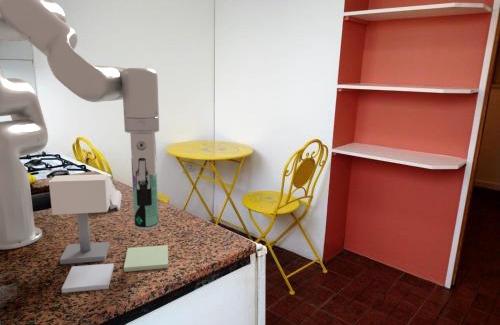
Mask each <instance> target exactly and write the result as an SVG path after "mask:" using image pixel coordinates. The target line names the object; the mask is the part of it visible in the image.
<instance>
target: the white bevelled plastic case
mask: <svg viewBox="0 0 500 325" xmlns="http://www.w3.org/2000/svg"><path fill="white" fill-rule="evenodd" d="M108 180H109V196H110V206H109V209H108V210H113V209H115V208H116V210H117V211H118V212H119V211H120V210H121V202H122V196H123V195H122V193H121V190H118V189H117V188H116V187H115V185H114V183H113V181H112V179H111V177H110V176H108Z"/></svg>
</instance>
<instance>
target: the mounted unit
mask: <svg viewBox="0 0 500 325" xmlns="http://www.w3.org/2000/svg"><path fill="white" fill-rule="evenodd" d="M108 177H109V173H106V174H105V173H104V174H101V173H100V174H74V175H73V174H70V175H69V174H67V175H54V176H53V177H52V178H51V179H50V180H49V181H48V184H49V195H50V205H51V215H52V216H53V215H54V216H56V215H71V214H72V215H75V214H76V215H77V224H78V226H77V227H78V228H77V229H78V238H79V243H72V244H71V243H69V244H67V246H66V247H65V249H64V251H63V253H62V255H61V257H60V258H59V265H67V264H68V265H70V264H81V263H82V264H83V263H95V262H105V261H106V258H107V256H108V252H109V249H110V241H104V242H103V241H100V242H91V233H90V221H89V220H90V219H89V214H93V213H107V212H108V211H109V210H110V209H109V206H110V196H109V180H108Z"/></svg>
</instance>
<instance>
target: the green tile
mask: <svg viewBox="0 0 500 325" xmlns="http://www.w3.org/2000/svg"><path fill="white" fill-rule="evenodd" d="M125 255H126V256H125V260H124V264H123V272H124V273H126V272H135V271H136V272H137V271H138V272H139V271H147V270H148V271H149V270H150V271H151V270H157V269H158V270H160V269H168V268H169V245H168V244H165V245H152V246H138V247H127V250H126V254H125Z"/></svg>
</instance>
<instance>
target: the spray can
mask: <svg viewBox="0 0 500 325" xmlns="http://www.w3.org/2000/svg"><path fill="white" fill-rule="evenodd" d="M140 146H142V144H141V145H140ZM130 160H131V161H130V162H131V163H132V157H131V159H130ZM145 166H146V159H145ZM157 170H158V169H157ZM157 170H156V175H155V176H153V175H150V188H151V193H152V205H150V206H138V205H137V190H136V189H137V177H135V176H134V175H133V166H132V165H131V173H132V174H131V176H132V177H131V178H132V195H133V198H132V199H133V213H134V215H133V216H134V228H135V229H136V230H138V231H149V230H154V229H156V228H157V227H159V204H158V197H159V196H158V179H157V176H158V172H157ZM136 172H137V171H136ZM145 175H148V173H145ZM146 180H147V178H146Z"/></svg>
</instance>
